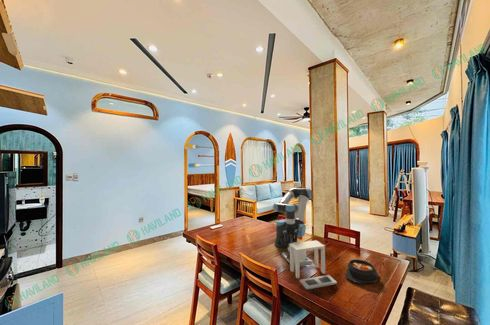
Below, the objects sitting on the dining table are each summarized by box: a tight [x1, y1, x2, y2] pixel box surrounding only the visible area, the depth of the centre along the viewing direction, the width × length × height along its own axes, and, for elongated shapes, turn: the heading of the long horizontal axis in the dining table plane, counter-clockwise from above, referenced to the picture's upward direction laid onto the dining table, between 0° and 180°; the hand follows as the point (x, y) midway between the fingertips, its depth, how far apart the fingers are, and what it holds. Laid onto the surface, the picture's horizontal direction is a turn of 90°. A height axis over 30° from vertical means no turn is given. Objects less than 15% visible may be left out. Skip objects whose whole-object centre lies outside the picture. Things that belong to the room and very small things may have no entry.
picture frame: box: [281, 235, 313, 268], centre depth 156 cm, size 21×16×15 cm
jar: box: [294, 241, 307, 263], centre depth 151 cm, size 11×10×15 cm
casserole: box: [344, 259, 379, 285], centre depth 133 cm, size 25×19×8 cm
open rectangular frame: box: [289, 240, 338, 290], centre depth 134 cm, size 22×22×20 cm
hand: (290, 250), depth 165 cm, fingers closed on picture frame, 3 cm apart
